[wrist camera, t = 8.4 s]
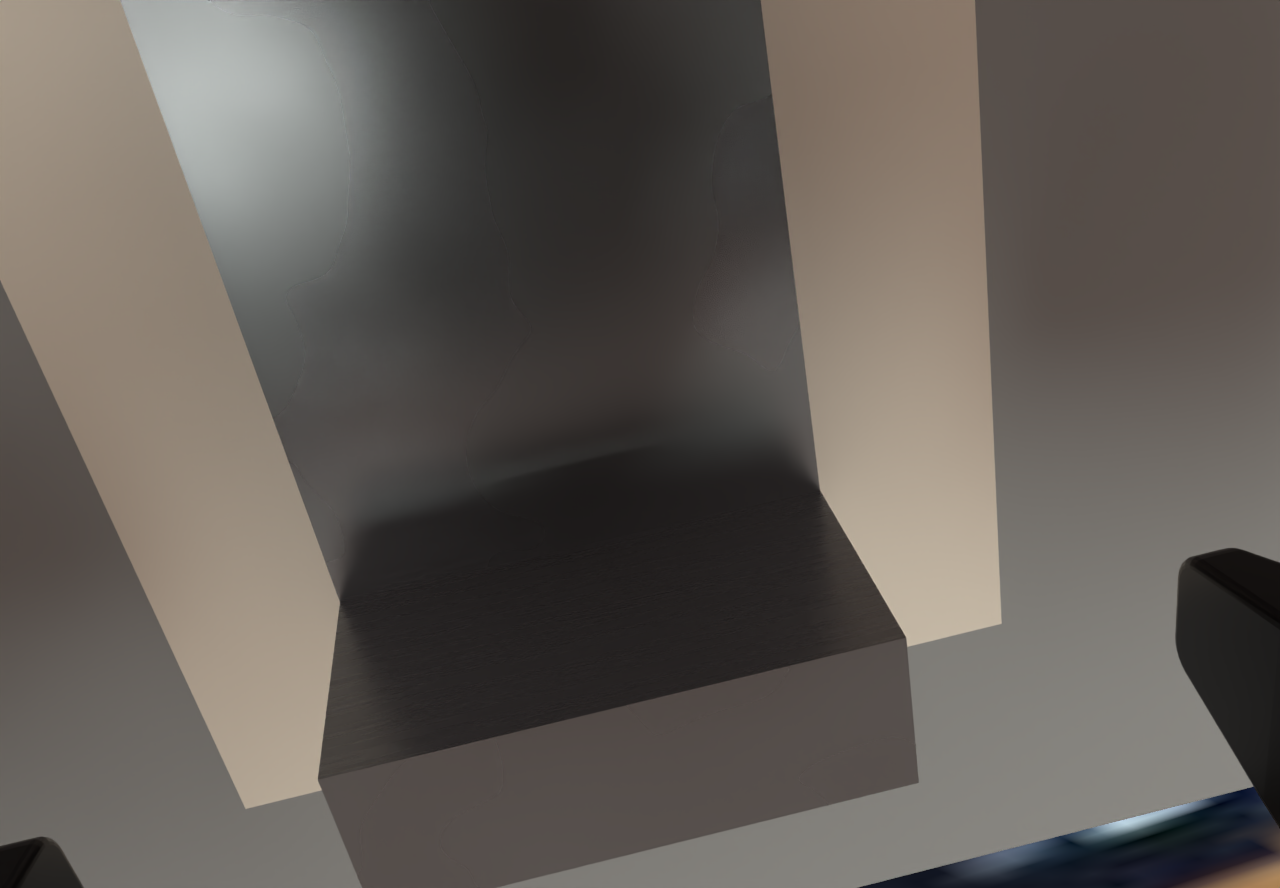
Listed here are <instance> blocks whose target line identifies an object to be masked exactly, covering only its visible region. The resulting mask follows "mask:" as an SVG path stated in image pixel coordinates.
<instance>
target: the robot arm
mask: <svg viewBox="0 0 1280 888" xmlns="http://www.w3.org/2000/svg"><path fill="white" fill-rule="evenodd" d="M1175 643H1176V650H1177V653H1178V657H1179V660H1180V662H1181V665H1182V667H1183V669H1184V671H1185V673H1186V674H1187V676H1188V678H1189V679H1190V681H1191V683H1192V684H1193V686H1194V688H1195V689H1196V691H1197V693H1198V694H1199V696H1200V698H1201V699H1202V701H1203V703H1204V704H1205V706H1206V708H1207V709H1208V711H1209V713H1210V714H1211V716H1212V718H1213V719H1214V721H1215V723H1216V724H1217V726H1218V728H1219V729H1220V731H1221V733H1222V734H1223V736H1224V738H1225V739H1226V741H1227V743H1228V744H1229V746H1230V748H1231V749H1232V751H1233V753H1234V754H1235V756H1236V758H1237V760H1238V761H1239V763H1240V765H1241V766H1242V768H1243V770H1244V771H1245V773H1246V775H1247V776H1248V778H1249V780H1250V781H1251V783H1252V785H1253V786H1254V788H1255V790H1256V791H1257V793H1258V795H1259V796H1260V798H1261V800H1262V801H1263V803H1264V804H1265V806H1266V808H1267V809H1268V811H1269V812H1270V814H1271V815H1272V817H1273V819H1274V820H1275V822H1276V823H1277V825H1278V826H1279V828H1280V562H1277V561H1274V560H1271V559H1268V558H1265V557H1263V556H1260V555H1257V554H1254V553H1251V552H1248V551H1245V550H1242V549H1238V548H1224V549H1220V550H1216V551H1212V552H1208V553H1204V554H1200V555H1196V556H1191V557H1189V558H1188V559H1186V560H1185V561H1184V562H1183V563H1182V564H1181V567H1180V569H1179V573H1178V585H1177V607H1176V629H1175ZM0 888H84V887H83V885H82V883H81V881H80V880H79V878H78V876H77V875H76V873H75V871H74V869H73V868H72V866H71V864H70V862H69V861H68V859H67V857H66V855H65V854H64V852H63V850H62V849H61V847H60V846H59V845H58V843H57V842H55V841H54V840H53V839H51V838H49V837H43V836H41V837H35V838H31V839H27V840H23V841H19V842H14V843H10V844H6V845H2V846H0Z"/></svg>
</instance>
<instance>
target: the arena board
mask: <svg viewBox="0 0 1280 888" xmlns="http://www.w3.org/2000/svg"><path fill="white" fill-rule="evenodd" d="M761 7H762V15H763V24H764V32H765V40H766V48H767V57H768V65H769V73H770V81H771V90H772V98H773V106H774V114H775V123H776V131H777V139H778V147H779V156H780V164H781V172H782V180H783V189H784V197H785V205H786V214H787V222H788V230H789V238H790V247H791V255H792V263H793V271H794V280H795V288H796V296H797V304H798V313H799V321H800V329H801V337H802V346H803V354H804V362H805V370H806V379H807V387H808V395H809V403H810V412H811V420H812V428H813V436H814V445H815V453H816V461H817V469H818V478H819V486H820V491H821V493H822V494H823V496H824V498H825V499H826V501H827V503H828V505H829V506H830V508H831V510H832V511H833V513H834V515H835V517H836V518H837V520H838V522H839V523H840V525H841V527H842V529H843V530H844V532H845V534H846V535H847V537H848V539H849V541H850V542H851V544H852V546H853V547H854V549H855V551H856V552H857V554H858V556H859V558H860V559H861V561H862V563H863V564H864V566H865V568H866V570H867V571H868V573H869V575H870V576H871V578H872V580H873V582H874V583H875V585H876V587H877V588H878V590H879V592H880V594H881V595H882V597H883V599H884V600H885V602H886V604H887V605H888V607H889V609H890V611H891V612H892V614H893V616H894V617H895V619H896V621H897V623H898V624H899V626H900V628H901V629H902V631H903V633H904V635H905V636H906V640H907V651H908V663H909V674H910V686H911V697H912V709H913V720H914V732H915V743H916V755H917V766H918V778H919V783H916V784H912V785H908V786H904V787H900V788H896V789H892V790H888V791H884V792H880V793H876V794H872V795H868V796H864V797H860V798H856V799H852V800H848V801H844V802H840V803H836V804H832V805H828V806H823V807H819V808H815V809H811V810H807V811H803V812H799V813H795V814H791V815H787V816H783V817H779V818H775V819H771V820H767V821H763V822H759V823H755V824H751V825H747V826H743V827H739V828H735V829H731V830H727V831H723V832H719V833H715V834H711V835H707V836H703V837H699V838H695V839H691V840H687V841H682V842H678V843H674V844H670V845H666V846H662V847H658V848H654V849H650V850H646V851H642V852H638V853H634V854H630V855H626V856H622V857H618V858H614V859H610V860H606V861H602V862H598V863H594V864H590V865H586V866H582V867H578V868H574V869H570V870H566V871H562V872H558V873H554V874H550V875H546V876H542V877H537V878H533V879H529V880H525V881H521V882H517V883H513V884H509V885H505V886H501V887H497V888H857V887H861V886H865V885H869V884H873V883H877V882H881V881H885V880H889V879H893V878H896V877H900V876H904V875H908V874H912V873H916V872H920V871H924V870H928V869H932V868H936V867H940V866H943V865H947V864H951V863H955V862H959V861H963V860H967V859H971V858H975V857H979V856H983V855H987V854H991V853H994V852H998V851H1002V850H1006V849H1010V848H1014V847H1018V846H1022V845H1026V844H1030V843H1034V842H1038V841H1042V840H1045V839H1049V838H1053V837H1057V836H1061V835H1065V834H1069V833H1073V832H1077V831H1081V830H1085V829H1089V828H1093V827H1096V826H1100V825H1104V824H1108V823H1112V822H1116V821H1120V820H1124V819H1128V818H1132V817H1136V816H1140V815H1144V814H1147V813H1151V812H1155V811H1159V810H1163V809H1167V808H1171V807H1175V806H1179V805H1183V804H1187V803H1191V802H1195V801H1198V800H1202V799H1206V798H1210V797H1214V796H1218V795H1222V794H1226V793H1230V792H1234V791H1238V790H1242V789H1246V788H1249V787H1253V785H1252V783H1251V781H1250V780H1249V778H1248V776H1247V775H1246V773H1245V771H1244V770H1243V768H1242V766H1241V765H1240V763H1239V761H1238V760H1237V758H1236V756H1235V754H1234V753H1233V751H1232V749H1231V748H1230V746H1229V744H1228V743H1227V741H1226V739H1225V738H1224V736H1223V734H1222V733H1221V731H1220V729H1219V728H1218V726H1217V724H1216V723H1215V721H1214V719H1213V718H1212V716H1211V714H1210V713H1209V711H1208V709H1207V708H1206V706H1205V704H1204V703H1203V701H1202V699H1201V698H1200V696H1199V694H1198V693H1197V691H1196V689H1195V688H1194V686H1193V684H1192V683H1191V681H1190V679H1189V678H1188V676H1187V674H1186V673H1185V671H1184V669H1183V667H1182V665H1181V662H1180V660H1179V657H1178V653H1177V650H1176V643H1175V629H1176V607H1177V585H1178V573H1179V569H1180V567H1181V564H1182V563H1183V562H1184V561H1185V560H1186V559H1188V558H1189V557H1191V556H1196V555H1200V554H1204V553H1208V552H1212V551H1216V550H1220V549H1224V548H1238V549H1242V550H1245V551H1248V552H1251V553H1254V554H1257V555H1260V556H1263V557H1265V558H1268V559H1271V560H1274V561H1277V562H1280V0H761ZM339 606H340V601H339V598H338V596H337V593H336V590H335V587H334V585H333V582H332V579H331V576H330V574H329V571H328V568H327V566H326V563H325V560H324V557H323V555H322V552H321V549H320V546H319V544H318V541H317V538H316V535H315V533H314V530H313V527H312V524H311V522H310V519H309V516H308V514H307V511H306V508H305V505H304V503H303V500H302V497H301V494H300V492H299V489H298V486H297V483H296V481H295V478H294V475H293V472H292V470H291V467H290V464H289V462H288V459H287V456H286V453H285V451H284V448H283V445H282V442H281V440H280V437H279V434H278V431H277V429H276V426H275V423H274V420H273V418H272V415H271V412H270V409H269V407H268V404H267V401H266V399H265V396H264V393H263V390H262V388H261V385H260V382H259V379H258V377H257V374H256V371H255V368H254V366H253V363H252V360H251V357H250V355H249V352H248V349H247V347H246V344H245V341H244V338H243V336H242V333H241V330H240V327H239V325H238V322H237V319H236V316H235V314H234V311H233V308H232V305H231V303H230V300H229V297H228V294H227V292H226V289H225V286H224V284H223V281H222V278H221V275H220V273H219V270H218V267H217V264H216V262H215V259H214V256H213V253H212V251H211V248H210V245H209V242H208V240H207V237H206V234H205V232H204V229H203V226H202V223H201V221H200V218H199V215H198V212H197V210H196V207H195V204H194V201H193V199H192V196H191V193H190V190H189V188H188V185H187V182H186V180H185V177H184V174H183V171H182V169H181V166H180V163H179V160H178V158H177V155H176V152H175V149H174V147H173V144H172V141H171V138H170V136H169V133H168V130H167V127H166V125H165V122H164V119H163V117H162V114H161V111H160V108H159V106H158V103H157V100H156V97H155V95H154V92H153V89H152V86H151V84H150V81H149V78H148V75H147V73H146V70H145V67H144V65H143V62H142V59H141V56H140V54H139V51H138V48H137V45H136V43H135V40H134V37H133V34H132V32H131V29H130V26H129V23H128V21H127V18H126V15H125V13H124V10H123V7H122V4H121V2H120V0H0V846H2V845H6V844H10V843H14V842H19V841H23V840H27V839H31V838H35V837H41V836H43V837H49V838H51V839H53V840H54V841H55V842H57V843H58V845H59V846H60V847H61V849H62V850H63V852H64V854H65V855H66V857H67V859H68V861H69V862H70V864H71V866H72V868H73V869H74V871H75V873H76V875H77V876H78V878H79V880H80V881H81V883H82V885H83V887H84V888H362V886H361V884H360V881H359V879H358V877H357V874H356V872H355V869H354V867H353V864H352V862H351V860H350V857H349V855H348V852H347V850H346V848H345V845H344V843H343V840H342V838H341V835H340V833H339V831H338V828H337V826H336V823H335V821H334V818H333V816H332V814H331V811H330V809H329V806H328V804H327V801H326V799H325V797H324V794H323V792H322V789H321V787H320V784H319V782H318V773H319V765H320V757H321V749H322V741H323V733H324V725H325V717H326V709H327V701H328V693H329V685H330V678H331V670H332V662H333V654H334V646H335V638H336V630H337V622H338V614H339Z"/></svg>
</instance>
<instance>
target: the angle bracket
mask: <svg viewBox="0 0 1280 888" xmlns="http://www.w3.org/2000/svg"><path fill="white" fill-rule="evenodd" d="M120 2H121V4H122V7H123V10H124V13H125V15H126V18H127V21H128V23H129V26H130V29H131V32H132V34H133V37H134V40H135V43H136V45H137V48H138V51H139V54H140V56H141V59H142V62H143V65H144V67H145V70H146V73H147V75H148V78H149V81H150V84H151V86H152V89H153V92H154V95H155V97H156V100H157V103H158V106H159V108H160V111H161V114H162V117H163V119H164V122H165V125H166V127H167V130H168V133H169V136H170V138H171V141H172V144H173V147H174V149H175V152H176V155H177V158H178V160H179V163H180V166H181V169H182V171H183V174H184V177H185V180H186V182H187V185H188V188H189V190H190V193H191V196H192V199H193V201H194V204H195V207H196V210H197V212H198V215H199V218H200V221H201V223H202V226H203V229H204V232H205V234H206V237H207V240H208V242H209V245H210V248H211V251H212V253H213V256H214V259H215V262H216V264H217V267H218V270H219V273H220V275H221V278H222V281H223V284H224V286H225V289H226V292H227V294H228V297H229V300H230V303H231V305H232V308H233V311H234V314H235V316H236V319H237V322H238V325H239V327H240V330H241V333H242V336H243V338H244V341H245V344H246V347H247V349H248V352H249V355H250V357H251V360H252V363H253V366H254V368H255V371H256V374H257V377H258V379H259V382H260V385H261V388H262V390H263V393H264V396H265V399H266V401H267V404H268V407H269V409H270V412H271V415H272V418H273V420H274V423H275V426H276V429H277V431H278V434H279V437H280V440H281V442H282V445H283V448H284V451H285V453H286V456H287V459H288V462H289V464H290V467H291V470H292V472H293V475H294V478H295V481H296V483H297V486H298V489H299V492H300V494H301V497H302V500H303V503H304V505H305V508H306V511H307V514H308V516H309V519H310V522H311V524H312V527H313V530H314V533H315V535H316V538H317V541H318V544H319V546H320V549H321V552H322V555H323V557H324V560H325V563H326V566H327V568H328V571H329V574H330V576H331V579H332V582H333V585H334V587H335V590H336V593H337V596H338V598H339V601H340V606H339V614H338V622H337V630H336V638H335V646H334V654H333V662H332V670H331V678H330V685H329V693H328V701H327V709H326V717H325V725H324V733H323V741H322V749H321V757H320V765H319V773H318V782H319V784H320V787H321V789H322V792H323V794H324V797H325V799H326V801H327V804H328V806H329V809H330V811H331V814H332V816H333V818H334V821H335V823H336V826H337V828H338V831H339V833H340V835H341V838H342V840H343V843H344V845H345V848H346V850H347V852H348V855H349V857H350V860H351V862H352V864H353V867H354V869H355V872H356V874H357V877H358V879H359V881H360V884H361V886H362V888H497V887H501V886H505V885H509V884H513V883H517V882H521V881H525V880H529V879H533V878H537V877H542V876H546V875H550V874H554V873H558V872H562V871H566V870H570V869H574V868H578V867H582V866H586V865H590V864H594V863H598V862H602V861H606V860H610V859H614V858H618V857H622V856H626V855H630V854H634V853H638V852H642V851H646V850H650V849H654V848H658V847H662V846H666V845H670V844H674V843H678V842H682V841H687V840H691V839H695V838H699V837H703V836H707V835H711V834H715V833H719V832H723V831H727V830H731V829H735V828H739V827H743V826H747V825H751V824H755V823H759V822H763V821H767V820H771V819H775V818H779V817H783V816H787V815H791V814H795V813H799V812H803V811H807V810H811V809H815V808H819V807H823V806H828V805H832V804H836V803H840V802H844V801H848V800H852V799H856V798H860V797H864V796H868V795H872V794H876V793H880V792H884V791H888V790H892V789H896V788H900V787H904V786H908V785H912V784H916V783H919V778H918V766H917V755H916V743H915V732H914V720H913V709H912V697H911V686H910V674H909V663H908V651H907V640H906V636H905V635H904V633H903V631H902V629H901V628H900V626H899V624H898V623H897V621H896V619H895V617H894V616H893V614H892V612H891V611H890V609H889V607H888V605H887V604H886V602H885V600H884V599H883V597H882V595H881V594H880V592H879V590H878V588H877V587H876V585H875V583H874V582H873V580H872V578H871V576H870V575H869V573H868V571H867V570H866V568H865V566H864V564H863V563H862V561H861V559H860V558H859V556H858V554H857V552H856V551H855V549H854V547H853V546H852V544H851V542H850V541H849V539H848V537H847V535H846V534H845V532H844V530H843V529H842V527H841V525H840V523H839V522H838V520H837V518H836V517H835V515H834V513H833V511H832V510H831V508H830V506H829V505H828V503H827V501H826V499H825V498H824V496H823V494H822V493H821V491H820V486H819V478H818V469H817V461H816V453H815V445H814V436H813V428H812V420H811V412H810V403H809V395H808V387H807V379H806V370H805V362H804V354H803V346H802V337H801V329H800V321H799V313H798V304H797V296H796V288H795V280H794V271H793V263H792V255H791V247H790V238H789V230H788V222H787V214H786V205H785V197H784V189H783V180H782V172H781V164H780V156H779V147H778V139H777V131H776V123H775V114H774V106H773V98H772V90H771V81H770V73H769V65H768V57H767V48H766V40H765V32H764V24H763V15H762V7H761V0H120Z"/></svg>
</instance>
